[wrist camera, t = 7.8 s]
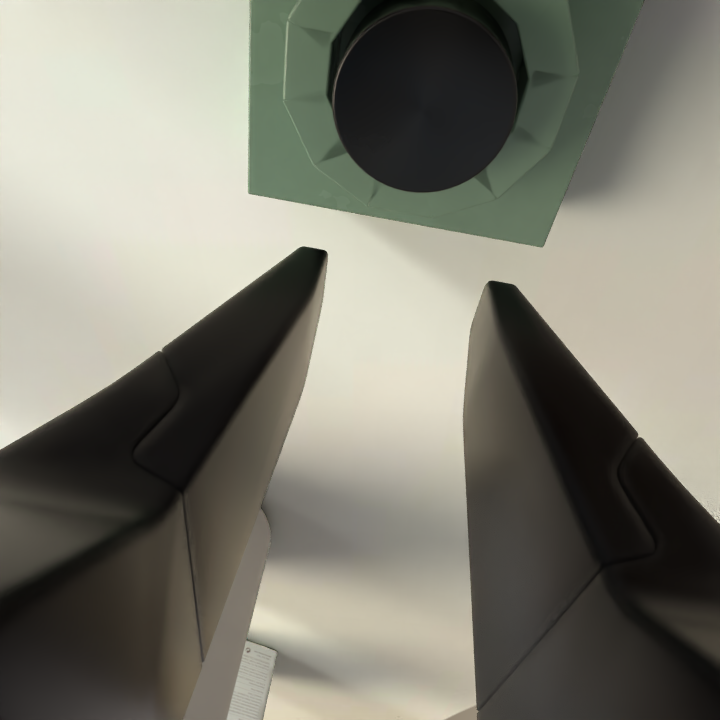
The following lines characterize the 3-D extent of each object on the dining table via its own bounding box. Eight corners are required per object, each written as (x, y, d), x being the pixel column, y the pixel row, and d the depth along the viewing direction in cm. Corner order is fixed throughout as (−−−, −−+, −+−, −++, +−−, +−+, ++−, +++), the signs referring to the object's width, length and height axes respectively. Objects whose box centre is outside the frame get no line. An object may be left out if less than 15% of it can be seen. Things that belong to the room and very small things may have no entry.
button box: (668, -143, 15) (725, -122, 12) (535, 207, 22) (549, 280, 19) (277, -218, 15) (228, -217, 12) (266, 157, 22) (233, 222, 19)
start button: (537, 4, 14) (545, 25, 13) (485, 176, 17) (487, 207, 16) (352, -30, 14) (342, -13, 13) (332, 148, 17) (323, 177, 16)
